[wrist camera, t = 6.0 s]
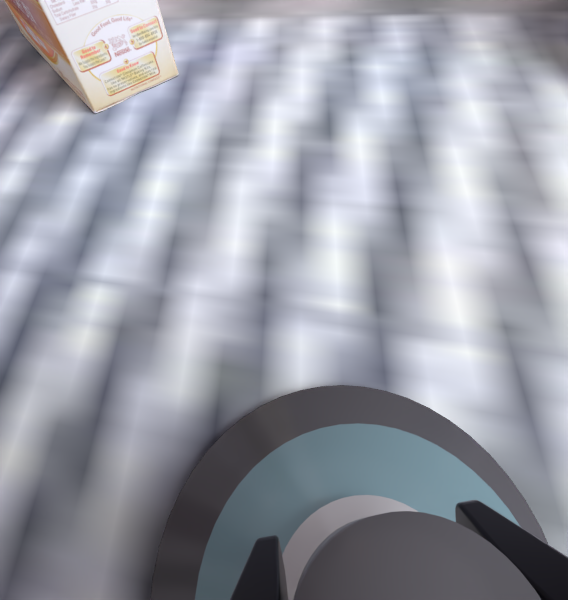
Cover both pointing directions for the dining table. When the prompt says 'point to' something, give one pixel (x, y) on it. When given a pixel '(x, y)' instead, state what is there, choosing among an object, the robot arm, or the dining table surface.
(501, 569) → the knob
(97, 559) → the dining table surface
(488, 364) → the dining table surface
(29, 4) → the coffeecake box
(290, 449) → the tiered round stand
